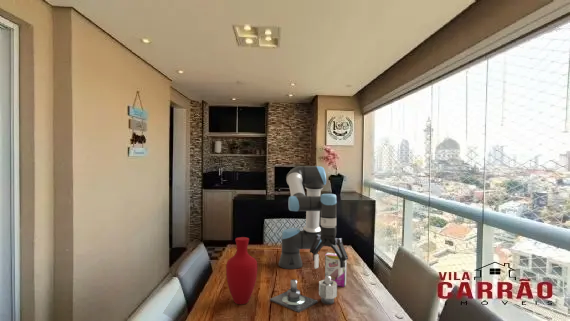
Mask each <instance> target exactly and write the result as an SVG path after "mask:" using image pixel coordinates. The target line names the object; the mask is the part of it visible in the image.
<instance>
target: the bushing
mask: <svg viewBox="0 0 570 321" xmlns="http://www.w3.org/2000/svg"><path fill="white" fill-rule="evenodd" d="M318 295H319V297H320V298H321V297H322V298H325V299H333V298H334V299H335V298H337V296H338V286H337V283H336V282H335V281H333V280H331V285H326V284H325V279H321V280H320V281H318Z"/></svg>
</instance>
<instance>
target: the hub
mask: <svg viewBox="0 0 570 321" xmlns="http://www.w3.org/2000/svg"><path fill="white" fill-rule="evenodd" d="M269 301H270V302H272V303H275V304H276V305H280V306H283V307H284V308H287V309H289V310H293V311H294V312H296V313H301V312H303V311H304V310H307V309H308V308H310V307H312V306H315V304H318V300H317V299H314V298H312V297H309V296H306V295H303V294H301V290H300V289H298V279H296V278H295V279H294V278H293V279H290V288H289V289H287V291H285V292H282V293H280V294H278V295H276V296H273V297H271V298H269Z"/></svg>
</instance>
